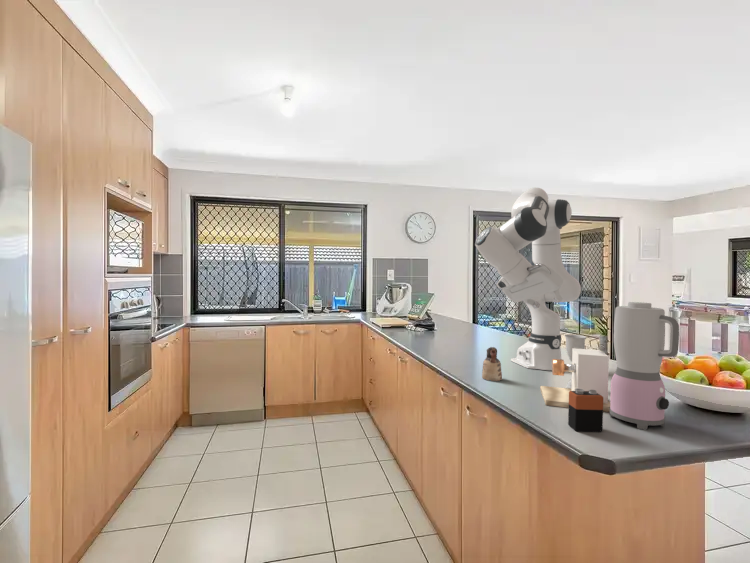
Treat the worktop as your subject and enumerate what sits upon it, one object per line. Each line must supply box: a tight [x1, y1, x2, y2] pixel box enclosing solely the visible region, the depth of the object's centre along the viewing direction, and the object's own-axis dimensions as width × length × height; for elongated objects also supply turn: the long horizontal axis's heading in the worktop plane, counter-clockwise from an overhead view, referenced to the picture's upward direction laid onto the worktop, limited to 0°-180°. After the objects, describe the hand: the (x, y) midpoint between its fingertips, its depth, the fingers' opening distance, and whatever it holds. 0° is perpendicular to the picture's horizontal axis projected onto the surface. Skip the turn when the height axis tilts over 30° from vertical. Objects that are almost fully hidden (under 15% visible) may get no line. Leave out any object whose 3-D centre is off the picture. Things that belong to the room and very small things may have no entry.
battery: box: [567, 388, 604, 433], centre depth 98 cm, size 4×7×10 cm, turn 89°
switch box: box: [570, 348, 610, 404], centre depth 119 cm, size 8×10×14 cm
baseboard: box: [539, 385, 610, 413], centre depth 120 cm, size 18×16×2 cm
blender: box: [609, 301, 680, 430], centre depth 102 cm, size 16×12×32 cm
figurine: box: [481, 346, 503, 382], centre depth 144 cm, size 7×7×12 cm
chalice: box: [564, 334, 587, 389], centre depth 135 cm, size 7×7×18 cm
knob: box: [551, 359, 576, 377], centre depth 121 cm, size 9×5×5 cm, turn 72°
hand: (548, 304), depth 118 cm, fingers open, 8 cm apart
